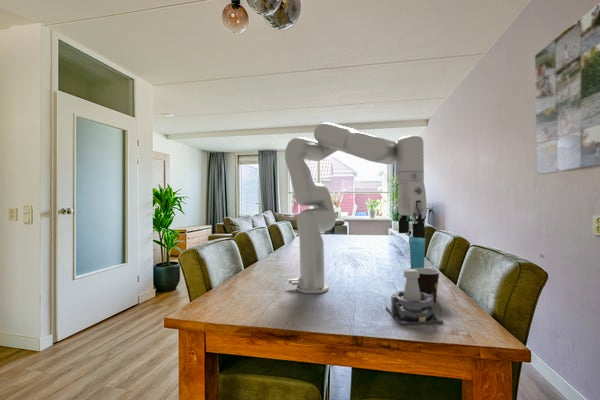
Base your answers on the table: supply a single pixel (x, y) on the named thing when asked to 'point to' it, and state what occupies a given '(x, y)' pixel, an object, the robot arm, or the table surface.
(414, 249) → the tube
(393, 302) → the collar stand
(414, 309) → the salt shaker
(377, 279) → the table surface
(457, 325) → the table surface
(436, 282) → the coffee mug
